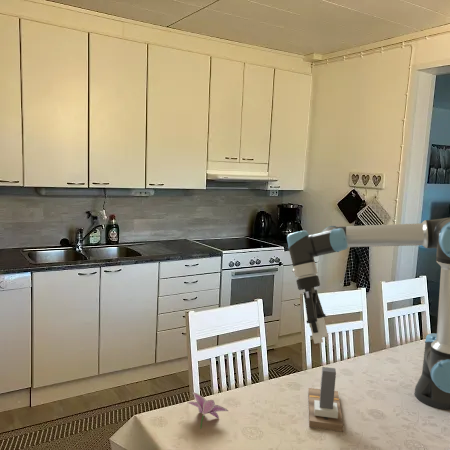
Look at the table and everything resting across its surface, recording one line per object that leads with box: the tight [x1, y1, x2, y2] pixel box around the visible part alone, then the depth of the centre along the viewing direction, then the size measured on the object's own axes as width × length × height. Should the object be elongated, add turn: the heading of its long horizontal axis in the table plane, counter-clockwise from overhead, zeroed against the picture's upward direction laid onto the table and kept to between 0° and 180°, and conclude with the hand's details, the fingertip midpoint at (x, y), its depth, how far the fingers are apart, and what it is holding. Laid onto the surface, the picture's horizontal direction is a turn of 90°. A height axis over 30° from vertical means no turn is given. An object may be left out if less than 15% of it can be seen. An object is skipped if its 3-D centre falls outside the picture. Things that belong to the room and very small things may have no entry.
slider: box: [314, 366, 338, 419], centre depth 145 cm, size 6×7×14 cm
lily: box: [187, 392, 229, 429], centre depth 140 cm, size 12×12×10 cm
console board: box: [307, 387, 344, 432], centre depth 151 cm, size 22×10×2 cm, turn 171°
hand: (321, 340), depth 154 cm, fingers open, 13 cm apart
